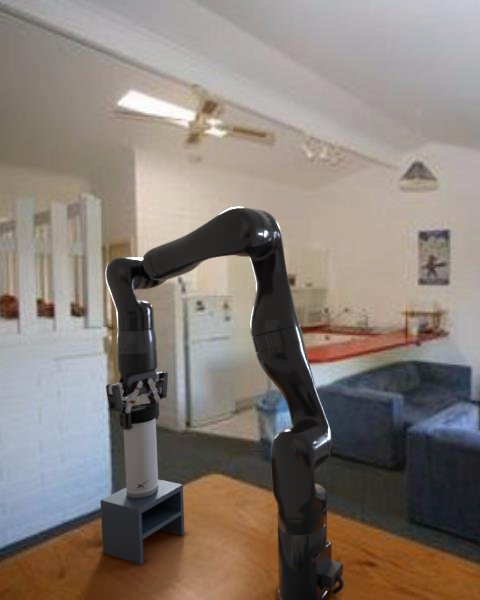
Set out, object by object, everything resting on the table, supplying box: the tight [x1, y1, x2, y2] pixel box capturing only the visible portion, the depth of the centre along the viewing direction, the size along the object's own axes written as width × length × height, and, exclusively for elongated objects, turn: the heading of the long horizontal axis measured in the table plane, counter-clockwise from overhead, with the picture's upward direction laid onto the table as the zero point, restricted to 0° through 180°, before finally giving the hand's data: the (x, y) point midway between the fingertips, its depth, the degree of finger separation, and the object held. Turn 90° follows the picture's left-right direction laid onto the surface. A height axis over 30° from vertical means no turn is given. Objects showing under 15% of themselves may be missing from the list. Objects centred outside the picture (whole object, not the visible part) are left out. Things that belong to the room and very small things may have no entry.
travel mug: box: [123, 402, 159, 498], centre depth 106 cm, size 6×7×20 cm
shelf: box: [99, 478, 186, 565], centre depth 107 cm, size 11×12×12 cm
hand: (140, 423), depth 105 cm, fingers closed on travel mug, 6 cm apart
